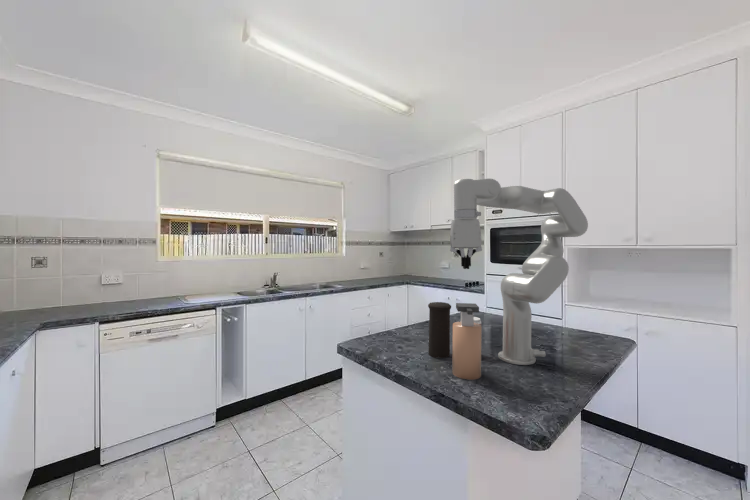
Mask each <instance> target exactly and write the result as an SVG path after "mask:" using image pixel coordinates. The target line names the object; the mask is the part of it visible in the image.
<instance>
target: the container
mask: <svg viewBox="0 0 750 500" xmlns="http://www.w3.org/2000/svg"><path fill="white" fill-rule="evenodd" d="M427 307H428V309H429V313H428V314H429V315H428V316H429V317H428V319H429V320H428V352H427V353H428V355H429V356H430V357H432V358H437V359H446V358H449V357H451V356H450V355H451V349H450V348H451V344H450V343H451V339H450V337H451V335H450V333H451V322H450V321H451V310H452V305H451V304H450V303H448V302H443V301H437V302H436V301H433V302H429V303H428V305H427Z"/></svg>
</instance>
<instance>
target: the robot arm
mask: <svg viewBox="0 0 750 500" xmlns="http://www.w3.org/2000/svg"><path fill="white" fill-rule="evenodd" d="M477 206H481V207H486V208H498V209H506V210H517V211H524V212H529V213H532V214H541V215H546V214H554V213H558V215H557V214H555V215H550V216H548V217H546V218H545V219H544V220H543V221H542V223H541V226H540V232H541V233H540V234H541V243H540V244H539V246H538V247H537V248H536V249H535V250H534V251H533V252H532V253H531V254H530V255H529V256H528V257H527V258H526V259H525V261H524V262H523V263H522V265H521V272H522V273H518V272H517V273H516V272H515V273H514V272H512V273H508V274H506V275H505V276H503V278H502V280H501V283H500V291H501V292H500V293H501V297H502V306H503V309H502V310H503V313H502V350H501V351H499V352H498V353H497V355H498V359H500V360H501V361H503V362H506V363H508V364H512V365H518V366H519V365H520V366H528V365H529V366H531V365H534V364H535V363H536V360H537V357H543V358H545V357H546V351H545V350H540V349H534V348H532V307H531V305H530V304H542V303H544V302H546V300H548V299H549V298H550V297H551V296H552V295H553V294H554V293H555V292H556V290H557V289H558V288H560V286H561V285H562V284H564V281H565V280H566V279H567V277H568V274H569V271H570V270H569V269H570V267H569V263H568V261H567V260H566V259H565V258H564V257H563V256H564V251H565V250H564V246H563V242H562V238H578V237H581V236H583V235H584V234H586V232H587V231H588V228H589V223H588V221H589V220H588V219H587V217H586V215H585V213H584V212H583V210H582V208H581V207H580V205H579V204H578V202H577V201H576V200H575V198H574V197H573V196H572V194H571V193H570V192H569V191H568V190H566V189H565V188H561V187H558V188H553V189H546V190H541V189H535V188H531V187H526V186H522V185H512V186H511V185H510V186H504V187H503V186H501V183H500V182H499V181H498V180H496V179H495V178H482V179H472V178H462V179H457V180H455V182H454V183H453V219H452V220H451V223H450V235H449V237H450V238H449V240H450V241H449V243H450V244H449V245H450V248H449V251H450V252H452V253H456V254H457V255H458V256H460V262H461V263H460V264H461V267H462V269H464V270H469V269H470V267H471V266H472V257H473V256H474V254H476V253H479V252H482V251H483V247H482V230H481V224H480V219H479V218H478V217H480V216H482V212H481V211H478V209H477V208H478V207H477ZM465 249H467V252H466V253H465Z"/></svg>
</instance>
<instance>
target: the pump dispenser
mask: <svg viewBox="0 0 750 500" xmlns="http://www.w3.org/2000/svg"><path fill="white" fill-rule="evenodd" d="M474 313H475V312H473V315H468V314H467V313H466V312H460V321H456V322H453V323H452V357H451V358H452V359H451V360H452V361H451V362H452V365H451V367H452V368H451V371H452V372H451V373H452V375H453V376H455V377H456V378H459V379H462V380H468V381H471V380H472V381H473V380H478V379H480V378H481V377H482V328H483V327H482V324H481V325H480V324H477V323H474V317H475V314H474Z"/></svg>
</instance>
